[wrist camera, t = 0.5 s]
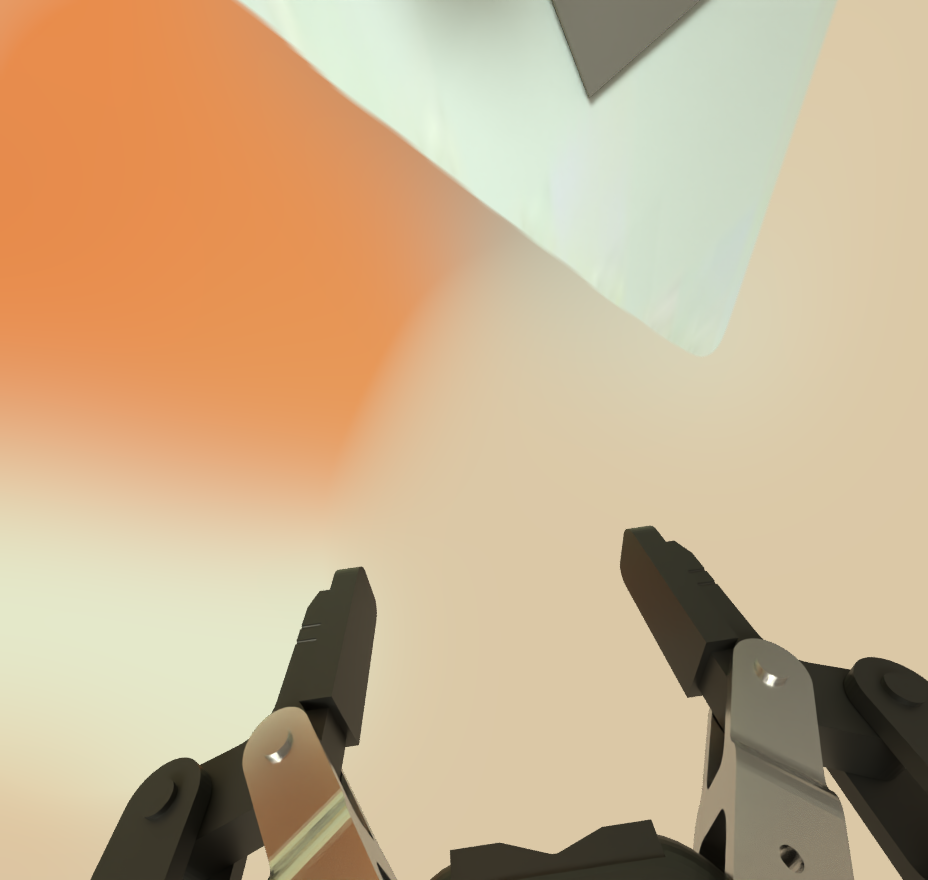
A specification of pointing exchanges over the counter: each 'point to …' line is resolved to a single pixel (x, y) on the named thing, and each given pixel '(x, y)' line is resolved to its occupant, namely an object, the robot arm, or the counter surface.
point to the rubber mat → (613, 32)
